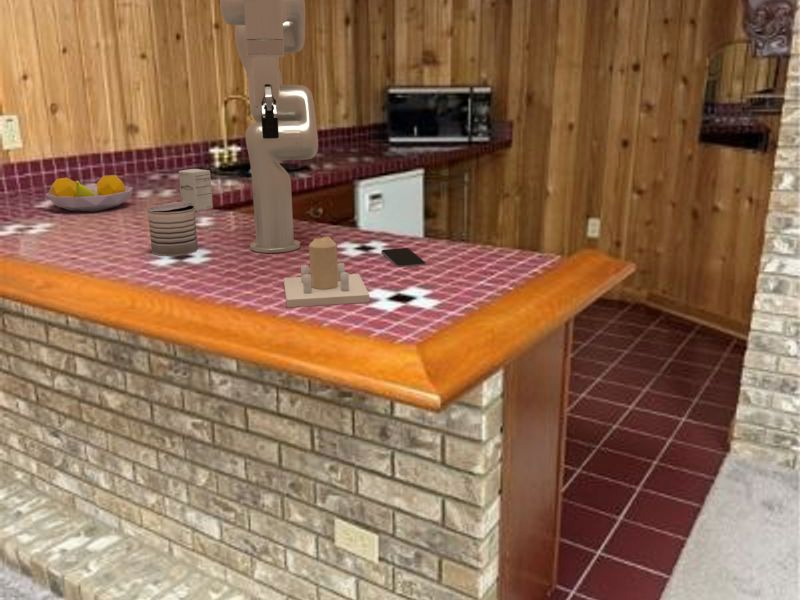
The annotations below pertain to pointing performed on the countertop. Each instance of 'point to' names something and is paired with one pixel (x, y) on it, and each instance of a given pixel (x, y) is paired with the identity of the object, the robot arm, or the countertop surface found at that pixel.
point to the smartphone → (402, 257)
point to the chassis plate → (325, 290)
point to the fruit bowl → (89, 194)
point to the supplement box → (196, 188)
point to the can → (173, 229)
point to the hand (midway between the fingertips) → (270, 136)
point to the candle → (323, 263)
